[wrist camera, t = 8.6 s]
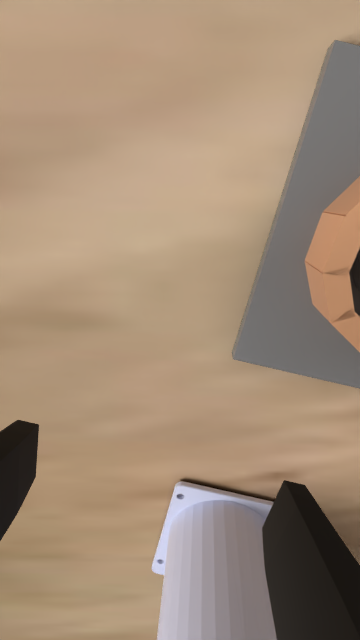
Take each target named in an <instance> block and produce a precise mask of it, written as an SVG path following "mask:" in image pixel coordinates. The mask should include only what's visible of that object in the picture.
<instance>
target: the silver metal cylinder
mask: <svg viewBox="0 0 360 640" xmlns="http://www.w3.org/2000/svg"><path fill="white" fill-rule="evenodd" d="M352 275H353V280H354V283H355V286H356V288H357V289H358V291H359V292H360V248H359V251H358V253H357V255H356V258H355V260H354V262H353V265H352Z"/></svg>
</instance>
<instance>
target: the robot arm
mask: <svg viewBox="0 0 360 640" xmlns="http://www.w3.org/2000/svg"><path fill="white" fill-rule="evenodd" d="M38 431H39V425H38V424H34V423H30V422H25V421H21V420H17V421H15V422H14V423H12V424H11V425H9V426H8V427H6V428H5V429H3V430H2V431H1V432H0V541H1V539H2V537H3V536H4V534H5V533H6V531H7V529H8V528H9V526H10V525H11V523H12V521H13V520H14V518H15V516H16V515H17V513H18V511H19V509H20V507H21V505H22V503H23V501H24V499H25V497H26V495H27V493H28V491H29V489H30V487H31V485H32V483H33V481H34V479H35V477H36V462H37V446H38ZM152 570H153V572H155V573H157V574H162V575H164V581H163V590H162V599H161V608H160V617H159V626H158V635H157V640H360V565H359V564H358V562H357V561H356V560H355V558H354V557H353V555H352V554H351V552H350V551H349V550H348V548H347V547H346V545H345V544H344V542H343V541H342V539H341V538H340V536H339V535H338V533H337V532H336V531H335V529H334V528H333V526H332V525H331V523H330V522H329V520H328V519H327V517H326V516H325V514H324V513H323V511H322V510H321V508H320V507H319V505H318V504H317V502H316V501H315V499H314V498H313V496H312V495H311V493H310V492H309V491H308V489H307V488H306V486H305V485H302V484H298V483H293V482H289V481H285V480H284V482H283V484H282V486H281V488H280V490H279V492H278V494H277V497H276V499H275V501H274V502H272V501H267V500H263V499H259V498H254V497H250V496H245V495H241V494H237V493H232V492H228V491H223V490H219V489H214V488H210V487H206V486H201V485H197V484H192V483H188V482H183V481H181V482H178V483H176V485H175V488H174V491H173V495H172V498H171V502H170V505H169V508H168V512H167V515H166V519H165V522H164V525H163V529H162V532H161V536H160V539H159V543H158V546H157V549H156V553H155V556H154V560H153V563H152Z"/></svg>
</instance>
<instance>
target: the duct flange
mask: <svg viewBox="0 0 360 640" xmlns="http://www.w3.org/2000/svg"><path fill="white" fill-rule="evenodd" d="M359 248H360V46H358V45H354V44H350V43H346V42H342V41H338V40H335V41H334V42H333V43H332V44H331V46H330V47H329V48H328V50H327V53H326V56H325V59H324V63H323V66H322V69H321V72H320V75H319V78H318V82H317V85H316V88H315V91H314V94H313V97H312V101H311V104H310V107H309V110H308V113H307V116H306V120H305V123H304V126H303V129H302V132H301V135H300V139H299V142H298V145H297V148H296V151H295V154H294V157H293V161H292V164H291V167H290V170H289V173H288V176H287V180H286V183H285V186H284V189H283V192H282V195H281V199H280V202H279V205H278V208H277V211H276V214H275V218H274V221H273V224H272V227H271V230H270V233H269V237H268V240H267V243H266V246H265V249H264V252H263V256H262V259H261V262H260V265H259V268H258V271H257V275H256V278H255V281H254V284H253V287H252V290H251V294H250V297H249V300H248V303H247V306H246V309H245V313H244V316H243V319H242V322H241V325H240V328H239V332H238V335H237V338H236V341H235V344H234V347H233V350H232V356H233V359H234V360H239V361H243V362H247V363H252V364H256V365H260V366H265V367H269V368H273V369H278V370H282V371H286V372H291V373H295V374H299V375H304V376H308V377H312V378H317V379H321V380H325V381H330V382H334V383H338V384H343V385H347V386H351V387H355V388H360V292H359V291H358V289H357V288H356V286H355V283H354V280H353V275H352V265H353V262H354V260H355V258H356V255H357V253H358V251H359Z"/></svg>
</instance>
